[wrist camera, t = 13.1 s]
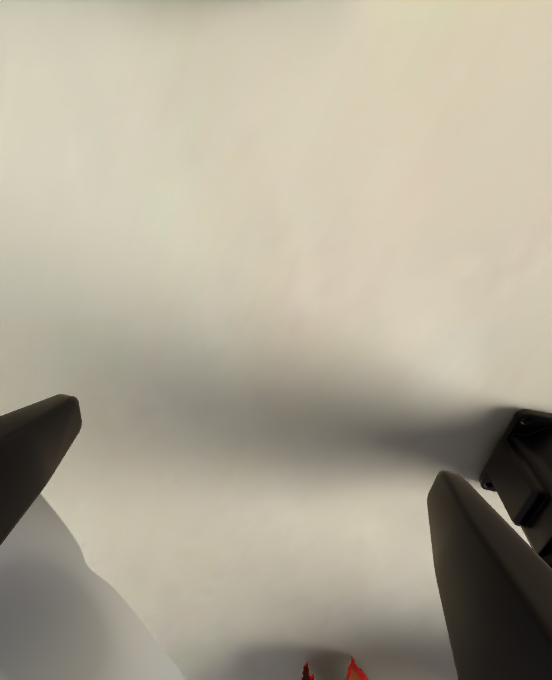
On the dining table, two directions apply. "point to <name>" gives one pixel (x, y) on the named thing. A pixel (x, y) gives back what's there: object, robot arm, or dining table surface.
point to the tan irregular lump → (355, 675)
